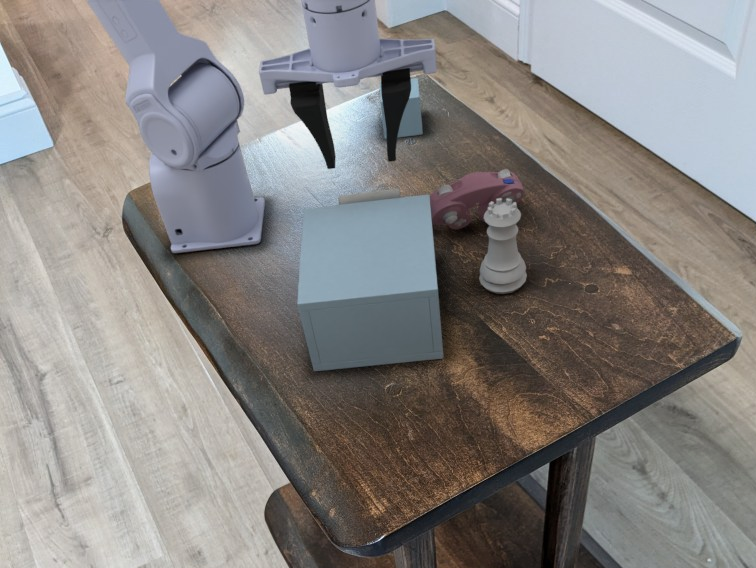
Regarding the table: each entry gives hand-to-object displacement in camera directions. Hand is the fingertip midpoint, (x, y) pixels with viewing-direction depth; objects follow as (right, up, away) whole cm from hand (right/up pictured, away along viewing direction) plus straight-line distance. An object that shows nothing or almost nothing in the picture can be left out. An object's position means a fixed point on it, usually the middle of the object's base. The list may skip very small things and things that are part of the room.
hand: (361, 159), depth 78 cm
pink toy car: (+11, -2, +10) cm, 15 cm away
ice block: (+4, +13, +22) cm, 26 cm away
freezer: (+1, -14, +3) cm, 14 cm away
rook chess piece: (+13, -10, +4) cm, 17 cm away
